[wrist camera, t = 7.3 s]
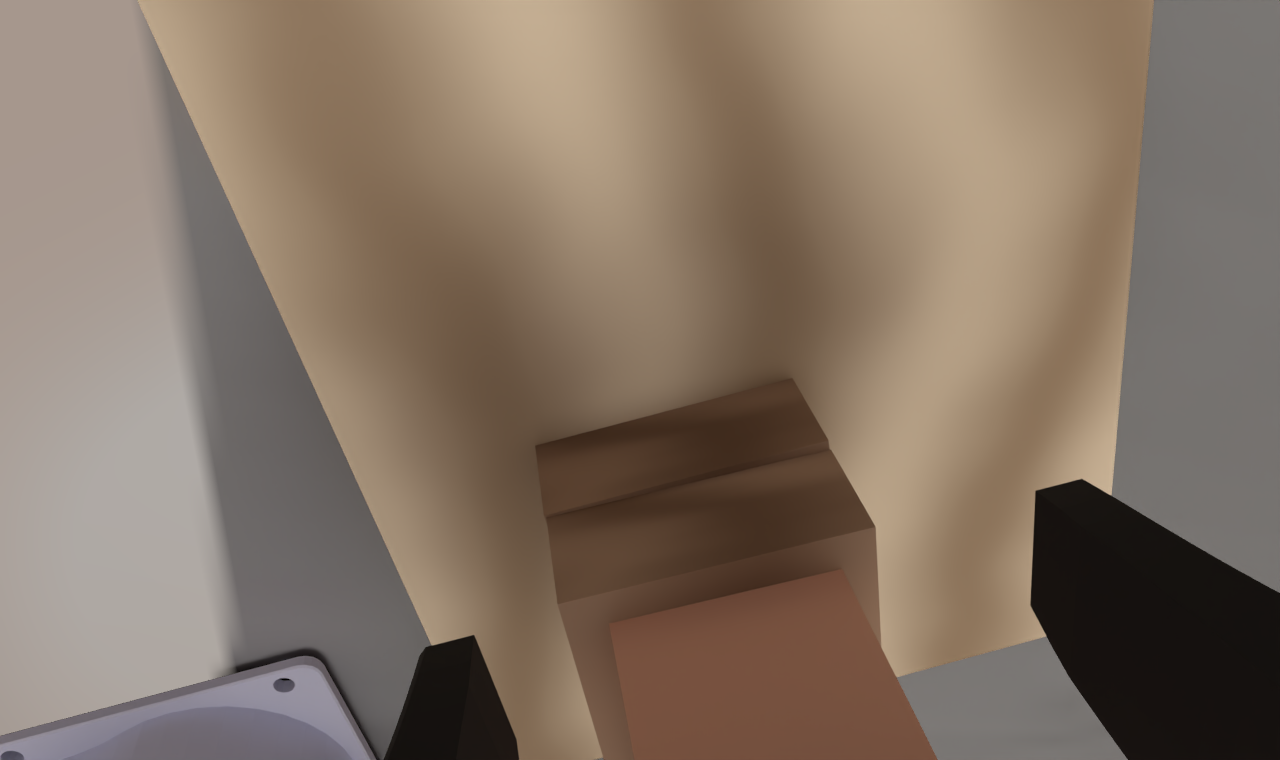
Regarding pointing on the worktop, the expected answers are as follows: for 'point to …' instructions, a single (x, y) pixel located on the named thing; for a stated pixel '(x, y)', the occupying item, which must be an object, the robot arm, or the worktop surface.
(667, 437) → the slab low
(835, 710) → the block
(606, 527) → the slab high
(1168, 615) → the robot arm
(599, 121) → the board
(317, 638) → the worktop surface
